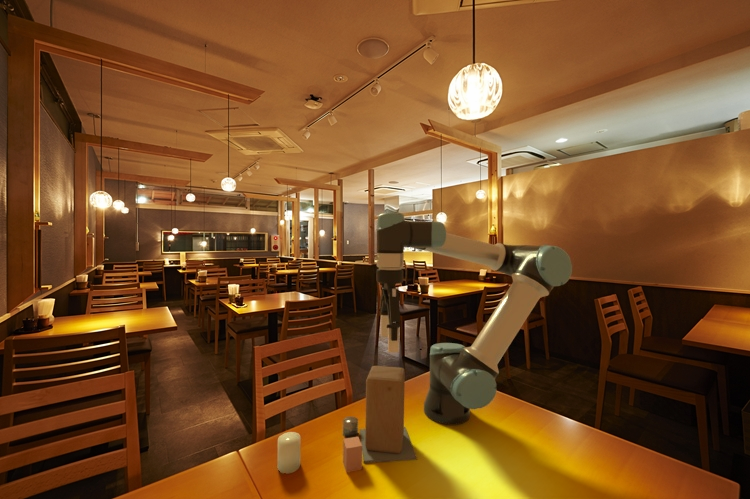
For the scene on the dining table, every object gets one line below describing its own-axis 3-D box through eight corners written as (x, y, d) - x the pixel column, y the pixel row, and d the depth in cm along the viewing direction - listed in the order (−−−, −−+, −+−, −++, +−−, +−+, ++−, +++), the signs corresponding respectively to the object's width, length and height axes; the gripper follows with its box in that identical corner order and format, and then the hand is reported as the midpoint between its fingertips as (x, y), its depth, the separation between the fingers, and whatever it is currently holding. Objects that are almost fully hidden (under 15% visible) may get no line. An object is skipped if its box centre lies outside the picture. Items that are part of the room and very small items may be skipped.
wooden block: (401, 455, 85) (402, 380, 84) (364, 451, 86) (365, 377, 86) (403, 433, 94) (405, 366, 94) (370, 430, 96) (371, 364, 96)
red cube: (357, 459, 84) (358, 436, 84) (361, 469, 80) (362, 445, 80) (342, 461, 83) (343, 439, 83) (346, 472, 79) (346, 448, 79)
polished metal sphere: (357, 429, 98) (357, 416, 97) (358, 437, 93) (358, 424, 93) (342, 429, 97) (342, 416, 97) (343, 438, 93) (343, 425, 93)
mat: (405, 428, 98) (405, 426, 98) (416, 459, 84) (416, 457, 84) (359, 431, 96) (359, 429, 96) (363, 463, 82) (363, 460, 82)
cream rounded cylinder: (301, 457, 84) (301, 431, 84) (298, 472, 79) (299, 444, 78) (279, 459, 83) (279, 432, 83) (275, 474, 78) (275, 446, 78)
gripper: (371, 265, 101) (370, 331, 102) (383, 272, 76) (382, 360, 77) (394, 265, 102) (394, 331, 103) (413, 272, 77) (412, 359, 78)
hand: (388, 344), depth 90 cm, fingers open, 13 cm apart
